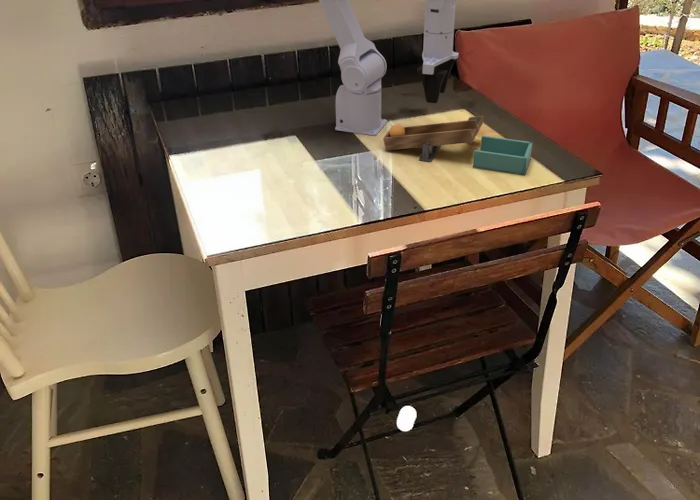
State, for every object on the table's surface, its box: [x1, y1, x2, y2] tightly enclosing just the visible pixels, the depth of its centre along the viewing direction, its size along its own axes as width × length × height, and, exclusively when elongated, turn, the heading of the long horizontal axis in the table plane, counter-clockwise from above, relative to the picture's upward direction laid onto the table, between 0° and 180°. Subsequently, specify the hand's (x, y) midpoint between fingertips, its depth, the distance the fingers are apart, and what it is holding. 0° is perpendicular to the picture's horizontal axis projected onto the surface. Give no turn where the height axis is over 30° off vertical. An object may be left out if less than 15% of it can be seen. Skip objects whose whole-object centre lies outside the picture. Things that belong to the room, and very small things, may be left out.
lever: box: [382, 115, 485, 151], centre depth 146 cm, size 18×12×3 cm, turn 69°
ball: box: [388, 124, 405, 137], centre depth 146 cm, size 3×3×3 cm
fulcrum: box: [418, 143, 442, 163], centre depth 145 cm, size 2×8×4 cm, turn 159°
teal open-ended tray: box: [472, 134, 534, 176], centre depth 141 cm, size 10×8×4 cm
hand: (435, 97), depth 146 cm, fingers open, 5 cm apart
